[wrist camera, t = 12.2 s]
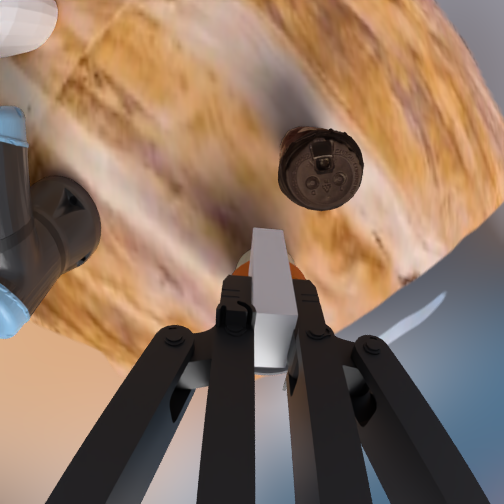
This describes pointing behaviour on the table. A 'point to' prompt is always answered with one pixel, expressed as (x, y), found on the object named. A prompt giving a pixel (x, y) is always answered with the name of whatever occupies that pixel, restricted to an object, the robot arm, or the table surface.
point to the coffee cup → (319, 167)
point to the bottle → (25, 25)
